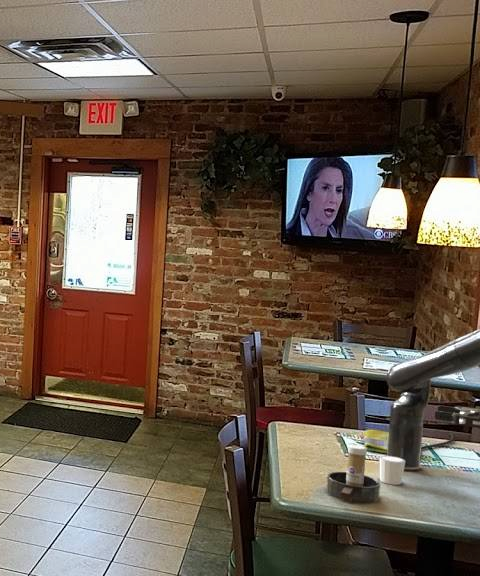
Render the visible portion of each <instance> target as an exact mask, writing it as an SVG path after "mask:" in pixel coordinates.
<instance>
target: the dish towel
mask: <svg viewBox="0 0 480 576" xmlns="http://www.w3.org/2000/svg"><path fill="white" fill-rule="evenodd" d="M388 436H389V431H383V430H378V429H366V430H365V431H364V433H363V444H364V445H363V446H364V447H366V449H367V450H369V451H373V452H377V453H382V454H387V448H388Z"/></svg>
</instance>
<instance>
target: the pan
mask: <svg viewBox="0 0 480 576" xmlns="http://www.w3.org/2000/svg"><path fill="white" fill-rule="evenodd" d="M346 474H347V471H332V472H329V473H328V474H327V476H326V487H325V488H326V491H327V492H328V493H329V494H330V495H331V496H333V497H334V498H337V499H340V500H342V499H341V491H342V490H343V489H344V487H349V488H353V502H352V503H361V504H369V503H375V502H377V501H378V500H379V499H380V494H381V482H380V480H377V479H375V478H374V477H371V476H368V475H365V474H364V482H363V487H360V486H352V485H347V484H346Z"/></svg>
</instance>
